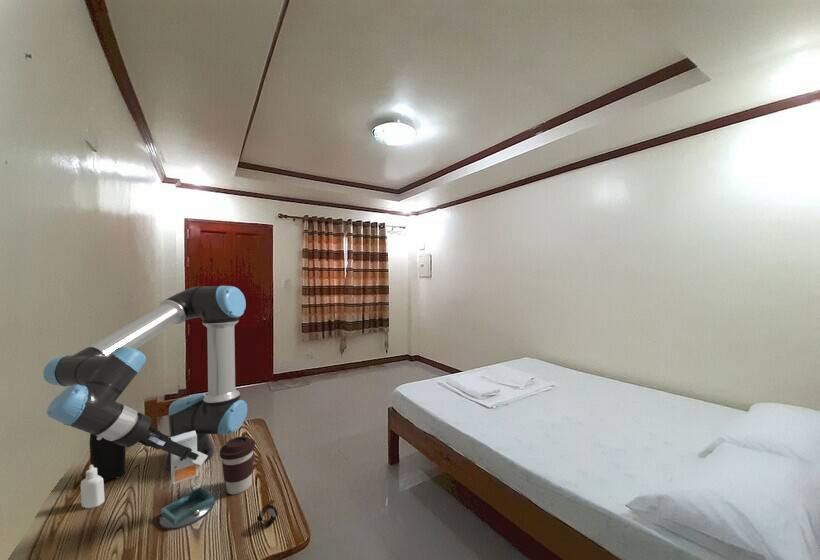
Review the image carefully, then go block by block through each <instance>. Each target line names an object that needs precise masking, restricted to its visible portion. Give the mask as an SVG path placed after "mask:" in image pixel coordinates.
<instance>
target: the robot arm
mask: <svg viewBox="0 0 820 560" xmlns="http://www.w3.org/2000/svg"><path fill="white" fill-rule="evenodd" d="M246 304H247V303H246V298H245V295H244V293H243V292H242V291H241V289H239V288H238V287H236V286H234V285H233V286H232V285H215V286H214V285H210V286H202V285H201V286H194V287H190V288H187V289H184V290H182V291H180V292H178V293H176V294H174V295H171V296H170V297H168V298H166V299H164V300H162V301H161V302H160V303H159V304H158V307H156V308H154V309H152V310H151V311H148V312H147V313H146V314H144V315H142V316H140V317H138V318H137V319H135V320H133V321H131V322H129V323H128V324H127V325H125V326H123V327H120V328H119V329H117V330H116V331H114V332H112V333H110V334H108V335H107V336H104V337H103V338H101V339H99V340H98V341H96V342H94V343H93V344H91V345H89V346H87V347H85V348H83V349H82V350H80V351H78V352H76V353H75V354H73V355H71V354H70V355H67V354H66V355H62V356H57V357H55V358H53V359H51V360H50V361H48V363H47V364H45V367H44V369H43V372H42V375H43V378H44V380H45V382H46V383H48V384H49V385H53V386H60V387H66V388H65V389H64V390H62V391H61V393H59V395H57V396H56V397H54V399H53V400H52V401H51V402H50V403H49V405H48V407H47V409H46V415H47V416H48V417H49V418H50V419H53V420H55V421H56V422H59V423H61V424H63V425H65V426H69V427H71V428H74V429H77V430H80V431H83V432H85V433H88V434H90V433H91V434H93V435H96V436H98V437H97V440H101V439H102V438H104V439H106V440H109V441H113V442H114V443H116V444H119V445H121V446H124V447H125V448H130V447H132V446H135V445H136V444H137V443H140V444H141V445H143V446H145V447H151V448H154V449H155V450H158V451H159V450H162V451H164V452H166V455H165V458H164V468H165V469H166V470H168V471H170V472H171V454H174V455H176V456H179V457H181V458H180V461H183V459H186V460H189V461H191V462H193V463H196V464H197V467H198V466H202V465H203V464H204V463H205V462H207V461H209V460H210V459H211V458H212V457H213V456H214V454H215V445H214V444H213V441H212V439H211V437H210V435H219V436H223V435H232V434H234V433H236V432H237V431H238V430H239V429H240V428H241V427H242V425H243V423H245V420H246V418H247V415H248V404H247V402H246V401H245V400H243V399H241V393H240V391H239V390H237V389H236V356H235V355H236V354H235V351H236V348H235V347H236V346H235V344H236V342H235V341H236V340H235V325H236V324H238V323H239V322H240V317H241V316H242V315H244V313H245V311H246V306H247V305H246ZM197 318H201V320H202V321H201V322H202V325H203V326H204V327H206V329H207V333H206V334H207V337H206V338H207V394H206V393H205V392H203V393H201V392H200V393H193V394H191V395H187V396H184V397H181V398H179V399H176V400H174V401H173V402H171V403H170V405H169V407H168V416H167V417H168V429H169V435H166V434H164V433H163V432H161V431H160V430H158V429H156V428H154V427H151V426H152V422H153V421H152V420H153V419H152V418H151V417H150V416H148V415H147V414H144V413H142V412H138V411H137V410H135V409H134V408H131V407H129V406H127V405H125V404H122V403H120V402H118V401H117V400H118V399H119V397H120V396H121V395H122V393H123V392H124V391H125V390H126V388H127V387H128V386H129V384H131V382H132V381H133V380H134V378H135V377H136V376H137V375H138V374H139V373H140V370H141V369H142V368H143V366H144V364H145V363H146V362H147V357H146V355H145V354H144V353H143V352H142V351H140V350H138V349H139V347H142V346H143V345H145V344H146V343H148V342H149V341H151V340H152V339H154V338H155V337H157V336H158V335H161V333H163V332H165V331H166V330H168V329H169V328H170V327H172V326H173V325H179V324H182V323H183V322H185V321H187V320H190V319H197ZM191 431H195V432H196V434H197V451H196V450H194V449H192V448H189V447H185V446H183V445H181V444H179V443H176V442H174V441H172V440H170V437H174V436H177V435H180V434H183V433H187V432H191Z"/></svg>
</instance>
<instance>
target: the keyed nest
mask: <svg viewBox="0 0 820 560" xmlns="http://www.w3.org/2000/svg"><path fill="white" fill-rule="evenodd" d="M215 499H216V498H215V496H214V494H212V492H211V493H210V492H207V491H206V490H204V489H202V488H201V487H198V488H196V489H194V490H193V491H191V492H189V493H188V494H185V495H183V496H182V497H180V498H178V499H176V500H174V501H173V502H171V503H169V504H168V505H166V506H164V507H162V508H161V509H160V510H161V511H160V513H161V514H160V516H159V525H160V527H161V528H162V529H164V530H169V531H170V529H171V530H172V529H173V530H179V529H182V528H186V527H188V526H192V525H194V524H195V523H196V522H198V521H200V520H202V519H203V518H205V516H207V515H208V514H209V513H211V511H212V509H213V508H214V506H215Z"/></svg>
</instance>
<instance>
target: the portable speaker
mask: <svg viewBox="0 0 820 560" xmlns="http://www.w3.org/2000/svg"><path fill="white" fill-rule="evenodd" d="M97 437H98V436H96V435H93V434H91V433H89V455H90V458H89V459H90V465H93V467H94V468H97V475H99V476H101V477H102V478H103V481H104V482H105V481H108V480H112V479H114V478H117V477H119V476H120V477H122V476H123V475H124V473H125V464H126V447H124V446H121V445H119V444H116V443H114V442H113V441H109V440H106V439H104V438H102V439H101V440H97ZM122 474H123V475H122ZM121 475H122V476H121ZM120 477H119V478H120ZM117 479H118V478H117Z"/></svg>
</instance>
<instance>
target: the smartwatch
mask: <svg viewBox="0 0 820 560" xmlns="http://www.w3.org/2000/svg"><path fill="white" fill-rule="evenodd" d="M266 512H268V514H269V516H270V518H269V519H268V521H267V522H266V523H265V524H264V522H263V519H264V516H265V514H266ZM278 514H279V512H278V509H277V507H275V505H273V504H269V503H268V504H266V505H265V506H264V507H263V508H262V509H261V511H260V512H259V513H258V515H257V517H256V518H257V520H256V521H258V522H259V524H261V525H262V526H263V527H265V528H269V527H271V525H272V524H273V523H274V522H275V521H276V519H277V517H278ZM261 525H260V526H261Z"/></svg>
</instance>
